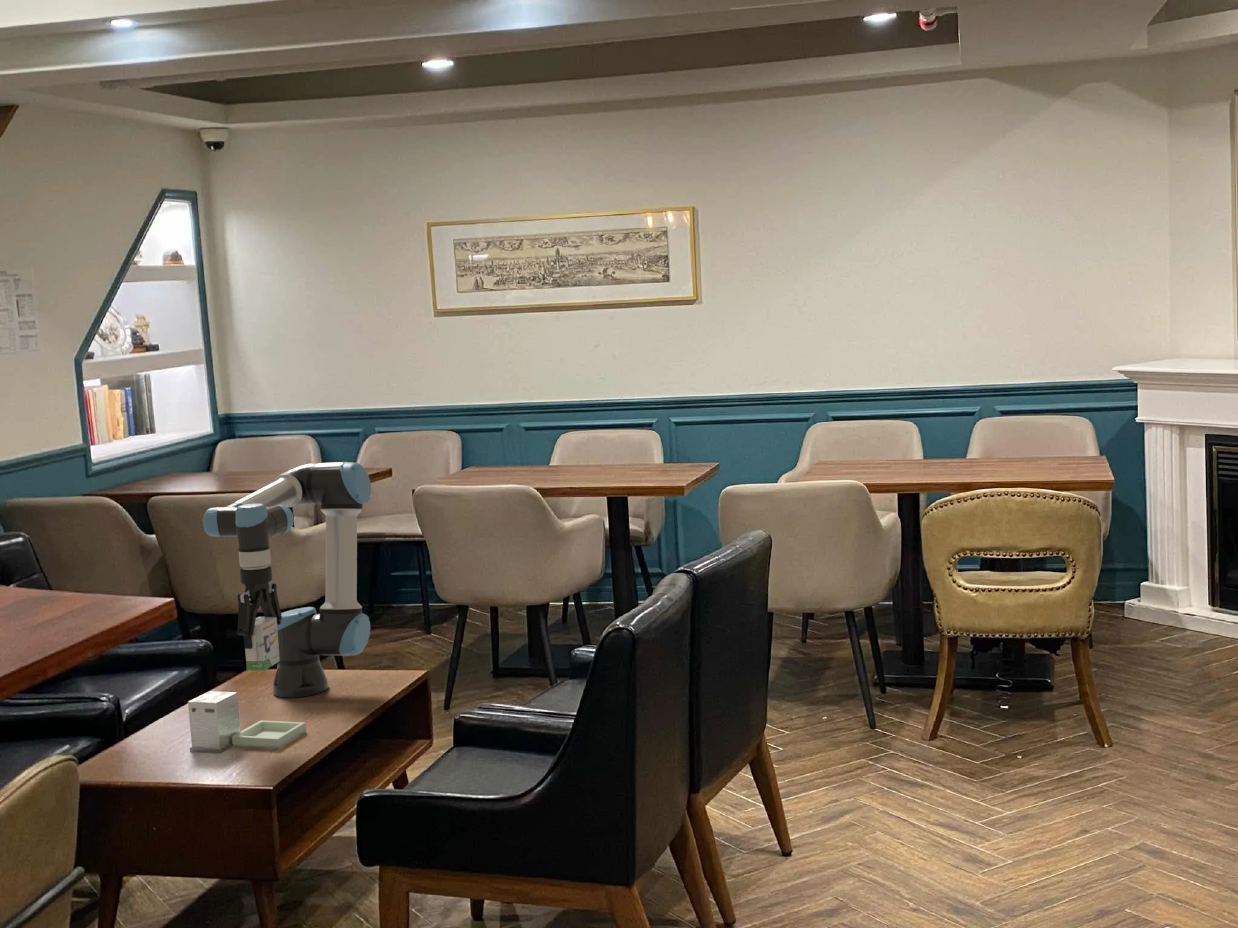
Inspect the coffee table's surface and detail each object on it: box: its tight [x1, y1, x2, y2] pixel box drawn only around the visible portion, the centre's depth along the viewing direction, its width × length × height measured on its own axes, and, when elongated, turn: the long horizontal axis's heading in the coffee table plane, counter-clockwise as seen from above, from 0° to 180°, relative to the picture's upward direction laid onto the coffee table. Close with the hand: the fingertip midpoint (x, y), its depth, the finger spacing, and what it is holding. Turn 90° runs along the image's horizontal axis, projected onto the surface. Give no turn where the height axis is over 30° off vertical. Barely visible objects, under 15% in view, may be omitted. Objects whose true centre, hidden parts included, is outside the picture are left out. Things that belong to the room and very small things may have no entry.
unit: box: [187, 690, 241, 754], centre depth 326 cm, size 10×9×12 cm
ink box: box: [245, 616, 280, 672], centre depth 327 cm, size 9×5×12 cm, turn 168°
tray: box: [232, 720, 307, 750], centre depth 330 cm, size 13×13×3 cm
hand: (262, 655), depth 328 cm, fingers closed on ink box, 9 cm apart
